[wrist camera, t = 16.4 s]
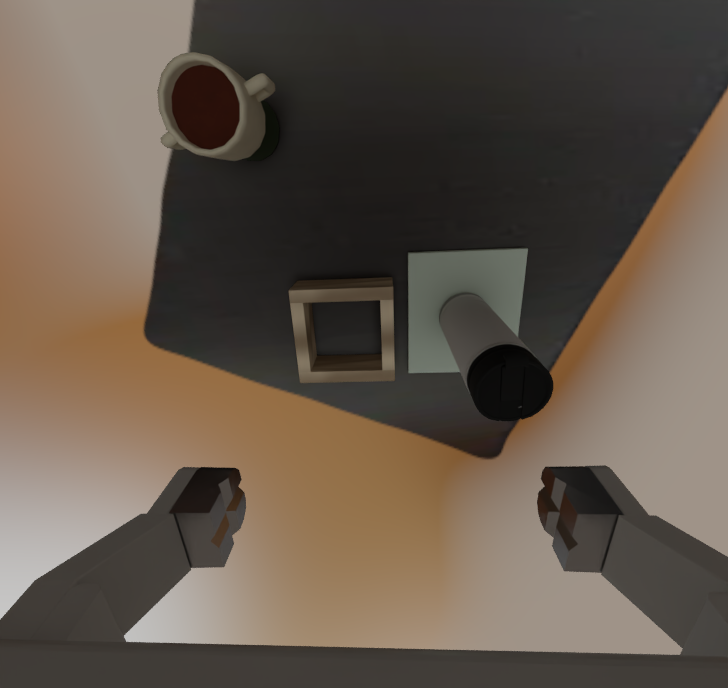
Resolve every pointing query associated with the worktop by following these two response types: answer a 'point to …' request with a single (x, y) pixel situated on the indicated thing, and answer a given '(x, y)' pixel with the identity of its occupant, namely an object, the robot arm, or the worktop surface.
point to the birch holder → (342, 365)
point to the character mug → (216, 110)
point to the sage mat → (453, 276)
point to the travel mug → (493, 360)
